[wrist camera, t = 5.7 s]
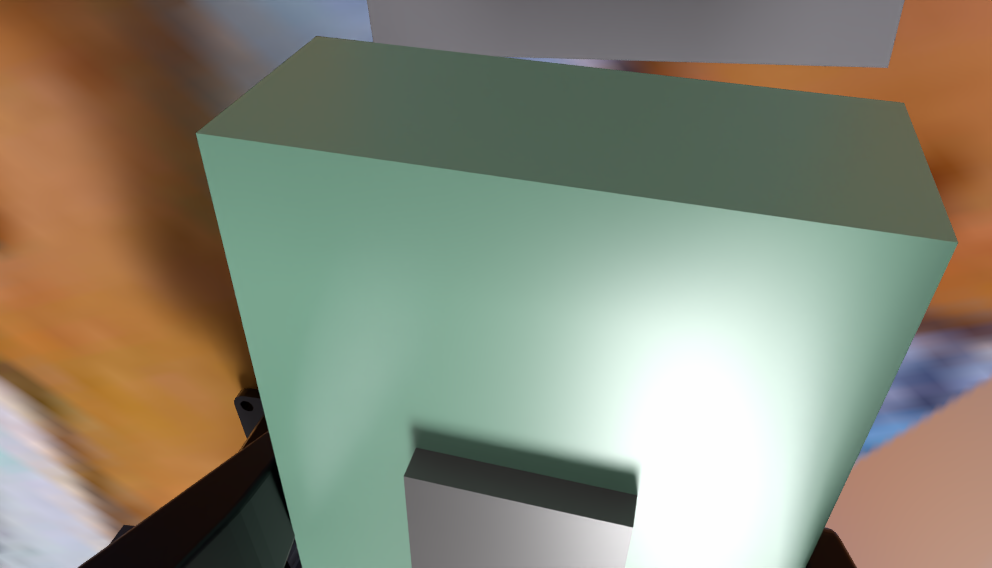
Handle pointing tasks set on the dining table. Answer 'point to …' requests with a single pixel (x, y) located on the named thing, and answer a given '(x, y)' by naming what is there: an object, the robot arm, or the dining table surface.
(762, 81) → the dining table surface
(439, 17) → the chassis
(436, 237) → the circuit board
